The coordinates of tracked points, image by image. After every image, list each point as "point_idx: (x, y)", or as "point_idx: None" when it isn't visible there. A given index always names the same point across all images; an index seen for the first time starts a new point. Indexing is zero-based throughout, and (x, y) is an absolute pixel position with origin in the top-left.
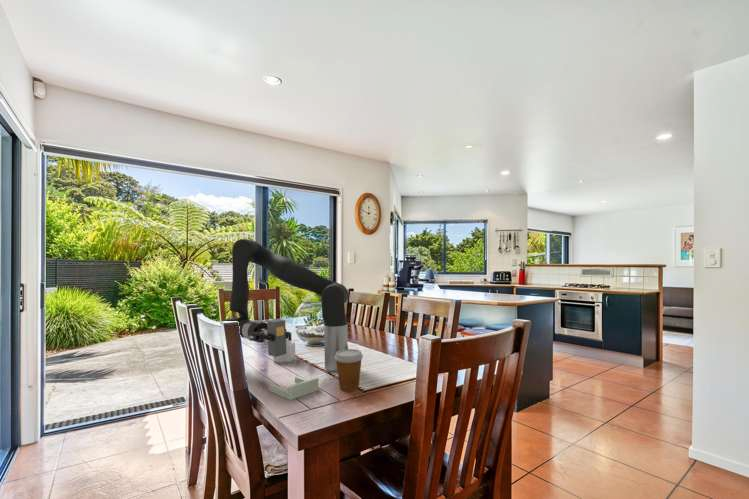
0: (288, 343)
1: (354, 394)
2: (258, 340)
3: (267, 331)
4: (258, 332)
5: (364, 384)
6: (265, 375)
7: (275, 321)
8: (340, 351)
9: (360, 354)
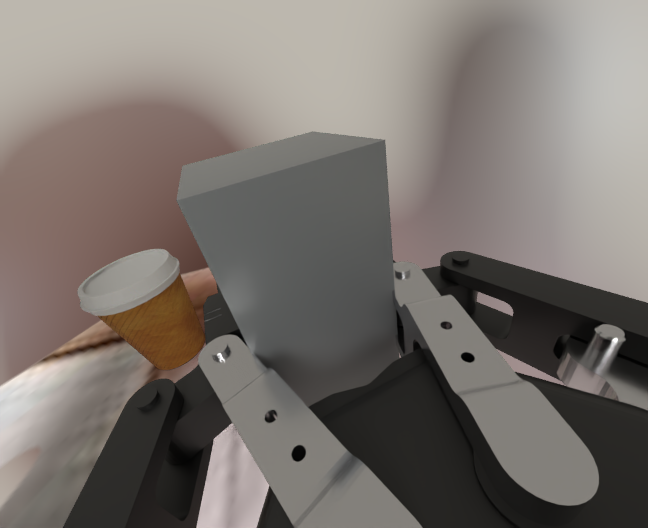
0: None
1: (200, 316)
2: (484, 308)
3: (410, 385)
4: (581, 391)
5: (131, 362)
6: None
7: (292, 140)
8: (121, 290)
9: (117, 262)
